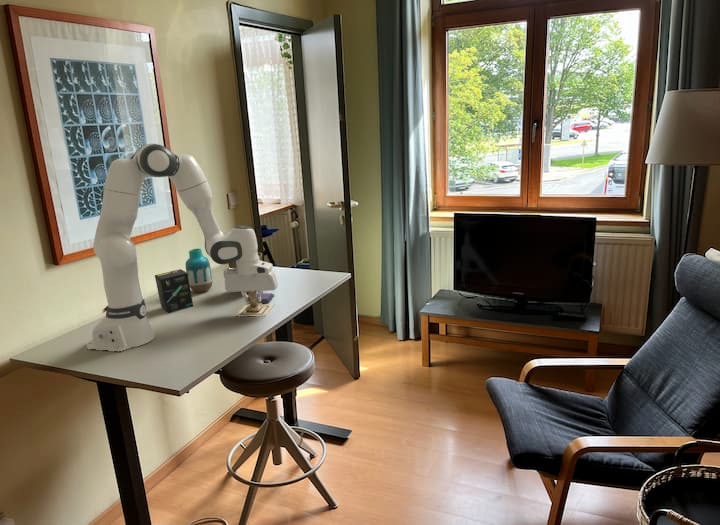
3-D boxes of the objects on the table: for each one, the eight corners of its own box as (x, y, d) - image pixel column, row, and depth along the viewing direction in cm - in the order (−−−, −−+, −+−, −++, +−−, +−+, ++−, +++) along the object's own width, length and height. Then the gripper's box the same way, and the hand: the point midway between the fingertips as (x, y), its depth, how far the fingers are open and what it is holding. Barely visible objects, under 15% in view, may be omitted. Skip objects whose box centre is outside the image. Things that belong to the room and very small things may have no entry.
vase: (185, 294, 232) (177, 253, 227) (199, 286, 242) (192, 246, 237) (205, 295, 229) (198, 253, 224) (218, 287, 238) (212, 246, 233)
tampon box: (186, 301, 223) (180, 268, 219) (194, 306, 216) (188, 272, 212) (160, 308, 217) (153, 274, 213) (167, 313, 210) (160, 278, 206)
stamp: (246, 312, 202) (243, 290, 200) (250, 307, 207) (247, 286, 205) (258, 311, 202) (255, 290, 199) (262, 307, 206) (259, 286, 204)
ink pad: (249, 304, 213) (249, 299, 212) (256, 297, 221) (255, 293, 220) (268, 303, 212) (268, 299, 211) (274, 296, 219) (273, 292, 219)
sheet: (234, 317, 200) (234, 316, 200) (245, 305, 211) (245, 304, 211) (265, 316, 198) (265, 315, 198) (274, 304, 209) (274, 304, 209)
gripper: (219, 270, 198) (225, 304, 202) (271, 268, 195) (276, 303, 199) (225, 266, 204) (231, 299, 208) (276, 263, 201) (280, 297, 205)
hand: (253, 301), depth 203 cm, fingers closed on stamp, 3 cm apart
